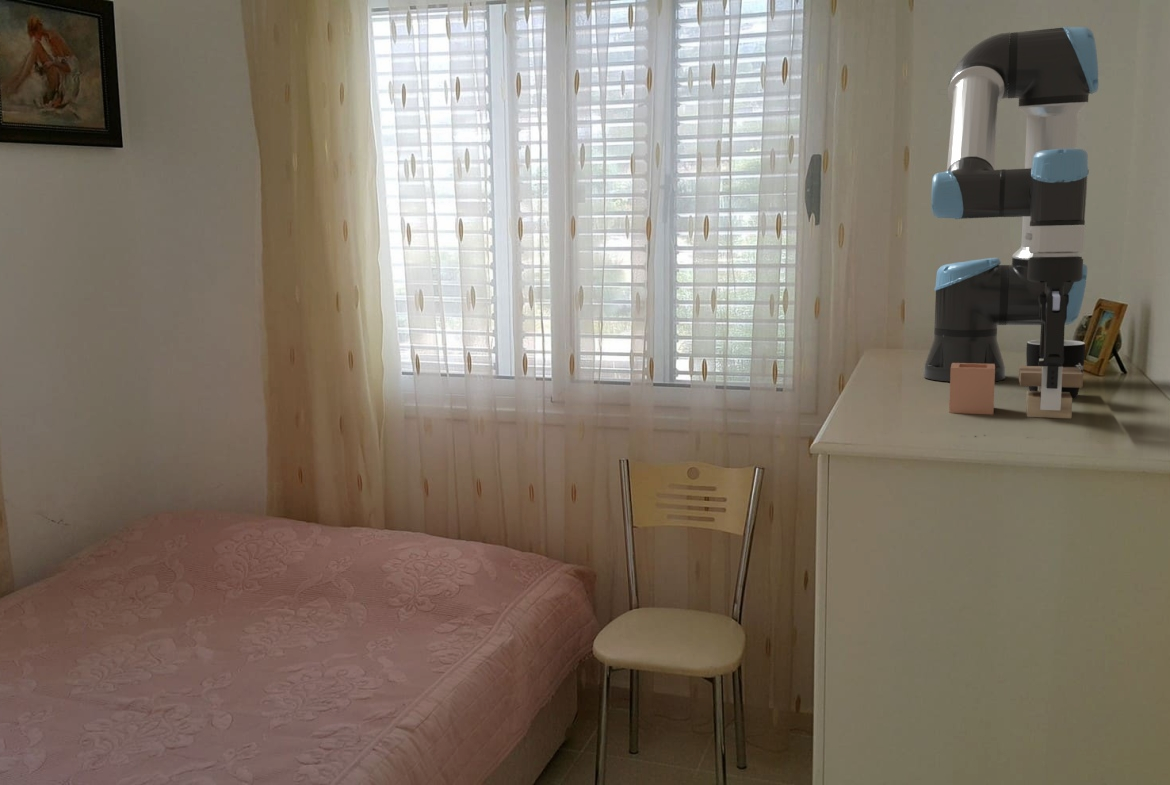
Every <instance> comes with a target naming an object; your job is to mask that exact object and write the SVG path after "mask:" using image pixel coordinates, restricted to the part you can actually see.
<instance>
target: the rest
mask: <svg viewBox="0 0 1170 785" xmlns="http://www.w3.org/2000/svg"><path fill="white" fill-rule="evenodd" d="M1025 402H1026V403H1025V404H1026V408H1025V411H1026V416H1027V417H1028V418H1030V417H1031V418H1055V419H1072V415H1073V414H1072V412H1073V399H1072V397H1071V395H1070V392H1061V410H1040V403H1041V391H1029V390H1026V401H1025Z"/></svg>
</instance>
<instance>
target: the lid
mask: <svg viewBox="0 0 1170 785" xmlns="http://www.w3.org/2000/svg"><path fill="white" fill-rule="evenodd" d="M1083 373H1084V372H1083ZM1083 373H1082V372H1081V370H1080V369H1079V367H1063V368H1062V387H1076V388H1079V389H1081V388H1083V384H1084V383H1083V382H1084V374H1083ZM1041 381H1042V366H1027V365H1019V367H1018V383H1019V386H1020V387H1029V386H1041Z"/></svg>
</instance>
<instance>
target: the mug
mask: <svg viewBox="0 0 1170 785" xmlns="http://www.w3.org/2000/svg"><path fill="white" fill-rule="evenodd" d="M1039 347H1040V339H1034V340H1028V341H1027V342H1026V354H1025V355H1026V366H1038V362H1039V359H1043V358H1040V356H1039V352H1040V351H1039ZM1085 355H1086V342H1084V341H1081V340H1069V339H1068V340H1067V339H1064V363H1063V364H1062V367H1079V369H1080V370H1081V372H1082V373H1084V367H1085V357H1086V356H1085ZM1028 391H1038V386H1028ZM1061 392H1070V395H1071V397H1072V400H1074V399H1077V397H1078V395H1079V392H1080V388H1076V387H1062V389H1061Z"/></svg>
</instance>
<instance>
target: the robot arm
mask: <svg viewBox="0 0 1170 785" xmlns="http://www.w3.org/2000/svg"><path fill="white" fill-rule="evenodd" d="M1096 45H1097V44H1096V38H1095V36H1094V33H1093V31H1092V30H1091V29H1090V28H1088V27H1085V26H1067V27H1066V26H1062V27H1055V28H1046V29H1036V30H1028V31H1027V30H1025V31H1016V32H1010V31H1009V32H1002V33H997V34H995V35H991V36H989V37H987V38H985V39H983V40H981V41H980V42H979V43H977V44H975V45H974V46H973V47H972V48H970V49H969V50H968V51H967V52H966V53H965V54H964V55H963V56H962V57H961V59H959V61H958V62H957V63H956V64H955V67H954V68H953V71H952V72H951V75H950V77H949V80H948V85H947V86H948V87H947V97H948V101H949V102H950V104H951V105H952V108H951V109H952V110H951V118H950V119H951V120H950V130H949V132H950V133H949V141H948V142H949V143H948V153H947V165H946V170H945V171H941V172H936V173H934V175H933V176H932V182H931V213H932V215H933V216H934V218H937V219H955V220H962V219H963V220H965V219H984V218H985V219H987V218H1022V224H1021V228H1022V229H1021V230H1022V231H1021V244H1020V245H1021V246H1020V248H1018V249H1017V250H1016V251H1014V253H1013V254H1012V256H1011V258H1012V259H1011V264H1001V260H1000V258H999V257H989V258H988V257H987V258H982V259H973V260H972V259H971V260H966V261H965V260H964V261H960V262H953V263H947V264H943V265H941V266H940V267H939V268H938V269H937V271H936V275H935V276H936V279H935V287H934V289H933V290H934V292H935V305H934V306H935V307H934V326H933V329H934V331H933V332H934V333H933V334H934V335H933V341H932V344H931V347H930V349H929V352H928V354H927V356H926V357H927V358H926V360H925V363H924V366H923V377H924V378H926V379H928V380H933V381H941V382H949V383H950V371H951V365H952V363H979V364H995V382H998V381H999V382H1000V381H1003V380H1005V378H1006V366H1005V362H1004V359H1003V356H1002V352H1001V350H1000V345H999V342H998V326H1040V336H1039V340H1040V347H1039V351H1040V352H1039V356H1040V358H1043V359H1039V362H1038V366H1042V381H1041V386H1038V391H1041V403H1040V410H1061V389H1062V368H1063V367H1062V364H1063V363H1064V340H1065V328H1066V327H1065V326H1069V325H1072V324H1073V323H1075V322H1076V321H1077V319H1078V318H1079V315H1080V312H1081V308H1082V306H1083V301H1084V297H1085V296H1084V295H1085V292H1086V284H1087V278H1088V277H1087V276H1088V266H1087V264H1084V259H1083V257H1082V256H1080V253H1083V252H1085V240H1086V239H1085V238H1086V225H1085V224H1086V222H1085V221H1086V220H1085V219H1086V206H1087V205H1086V204H1087V189H1088V188H1087V187H1088V175H1089V171H1090V169H1089V162H1088V160H1089V159H1088V158H1089V157H1088V153H1087V151H1086V150H1085V149H1082V148H1077V144H1078V126H1079V124H1078V123H1079V114H1080V113H1081V111H1082V110H1083V109H1084V108H1085V107H1086V106H1088V104H1089V95H1090V94H1091V95H1093V94H1095V93H1097V92H1098V89H1099V65H1098V61H1099V60H1098V53H1097V46H1096ZM1002 99H1018V109H1019V110H1020V111H1021V112H1022V113H1023V115H1024V116H1026V131H1025V132H1026V134H1025V154H1024V156H1025V157H1024V158H1025V159H1024V168H1015V169H1014V168H1011V169H1009V168H1008V169H996V154H997V151H996V150H997V133H998V132H997V131H998V109H999V108H998V107H999V106H998V104H999V103H1000V102H1001V100H1002Z"/></svg>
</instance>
